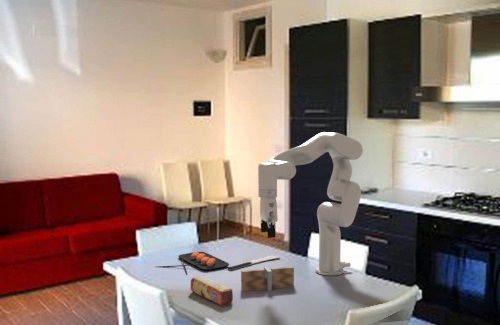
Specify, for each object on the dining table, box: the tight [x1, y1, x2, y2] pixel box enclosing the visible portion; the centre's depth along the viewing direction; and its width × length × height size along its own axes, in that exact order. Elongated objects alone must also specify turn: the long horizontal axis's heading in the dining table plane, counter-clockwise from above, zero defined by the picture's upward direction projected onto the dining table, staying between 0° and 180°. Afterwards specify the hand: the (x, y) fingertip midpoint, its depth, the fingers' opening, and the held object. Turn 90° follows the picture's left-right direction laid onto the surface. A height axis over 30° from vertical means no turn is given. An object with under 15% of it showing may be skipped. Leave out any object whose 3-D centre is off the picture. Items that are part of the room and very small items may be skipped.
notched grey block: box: [263, 266, 273, 292], centre depth 216 cm, size 6×2×8 cm, turn 14°
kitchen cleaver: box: [227, 255, 281, 271], centre depth 253 cm, size 31×2×10 cm
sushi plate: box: [156, 251, 230, 276], centre depth 249 cm, size 29×30×4 cm
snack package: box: [190, 274, 234, 307], centre depth 206 cm, size 21×7×7 cm, turn 39°
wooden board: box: [240, 266, 295, 292], centre depth 216 cm, size 22×2×8 cm, turn 104°
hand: (268, 234), depth 215 cm, fingers open, 9 cm apart
